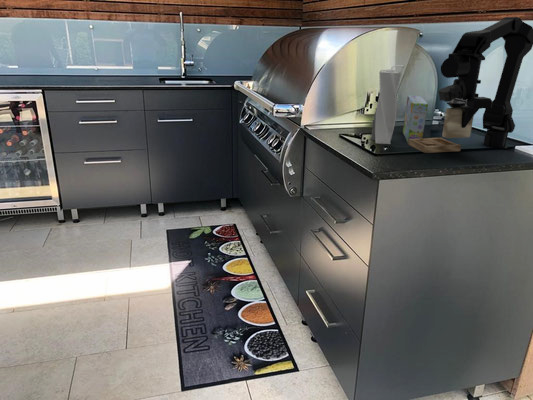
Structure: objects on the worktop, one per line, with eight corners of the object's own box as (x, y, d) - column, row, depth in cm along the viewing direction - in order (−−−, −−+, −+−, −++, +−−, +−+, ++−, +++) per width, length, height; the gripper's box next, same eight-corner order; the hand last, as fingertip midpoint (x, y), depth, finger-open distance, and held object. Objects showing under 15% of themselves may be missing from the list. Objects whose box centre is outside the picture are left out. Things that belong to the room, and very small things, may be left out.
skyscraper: (393, 142, 161) (402, 63, 151) (395, 148, 153) (405, 65, 143) (370, 141, 162) (377, 63, 152) (371, 147, 155) (379, 65, 144)
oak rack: (440, 145, 156) (441, 137, 155) (459, 153, 146) (461, 145, 145) (407, 146, 154) (408, 139, 153) (424, 155, 144) (426, 146, 143)
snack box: (423, 145, 156) (428, 103, 150) (406, 145, 157) (412, 102, 151) (416, 133, 175) (421, 95, 170) (401, 132, 176) (406, 94, 171)
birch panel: (442, 136, 140) (446, 108, 137) (464, 135, 142) (468, 107, 138) (447, 138, 138) (451, 109, 134) (469, 137, 139) (474, 108, 136)
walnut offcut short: (424, 143, 151) (424, 140, 150) (433, 146, 146) (433, 143, 146) (417, 144, 150) (417, 140, 150) (426, 147, 146) (426, 144, 145)
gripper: (428, 73, 140) (421, 122, 146) (463, 79, 123) (454, 134, 129) (458, 73, 142) (451, 120, 148) (498, 79, 125) (488, 132, 131)
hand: (460, 126), depth 139 cm, fingers closed on birch panel, 3 cm apart
